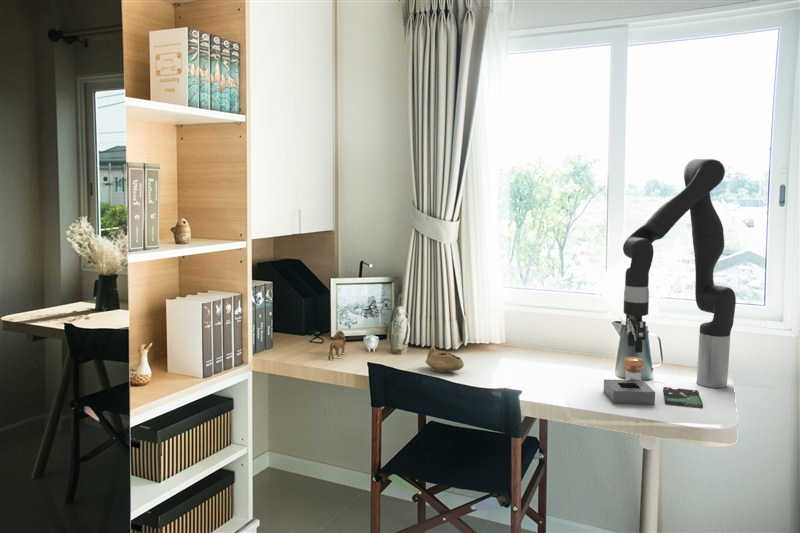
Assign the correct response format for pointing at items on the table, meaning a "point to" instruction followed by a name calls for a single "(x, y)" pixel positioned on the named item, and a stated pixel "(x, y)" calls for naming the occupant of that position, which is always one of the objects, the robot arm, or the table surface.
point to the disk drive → (682, 397)
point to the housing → (629, 392)
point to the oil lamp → (443, 361)
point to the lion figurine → (337, 344)
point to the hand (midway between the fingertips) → (634, 349)
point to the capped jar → (633, 368)
